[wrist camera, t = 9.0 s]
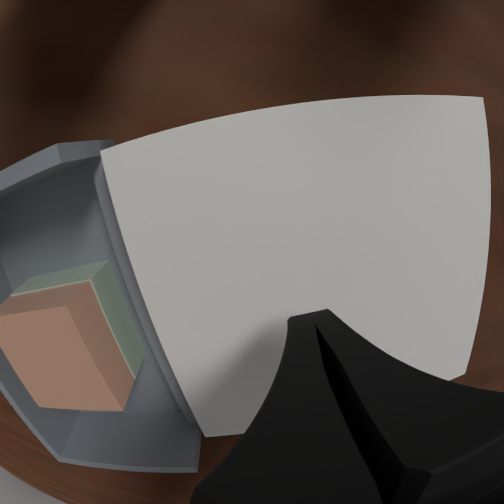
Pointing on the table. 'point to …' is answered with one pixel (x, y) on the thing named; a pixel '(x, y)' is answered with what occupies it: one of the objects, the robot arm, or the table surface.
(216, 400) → the ledge board
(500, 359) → the table surface
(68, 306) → the terracotta tile
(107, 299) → the green tile
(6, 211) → the bin
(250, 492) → the robot arm
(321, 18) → the table surface
